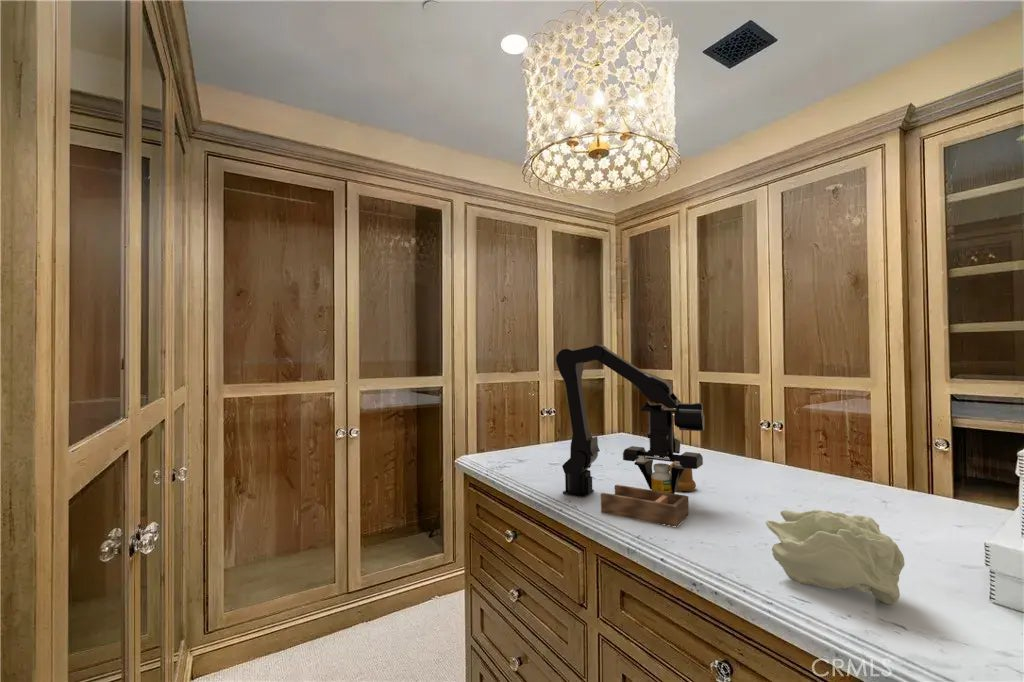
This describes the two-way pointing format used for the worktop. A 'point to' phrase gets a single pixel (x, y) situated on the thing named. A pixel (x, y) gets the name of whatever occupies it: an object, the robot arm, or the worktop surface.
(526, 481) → the worktop surface
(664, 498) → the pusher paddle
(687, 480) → the ornamental finial
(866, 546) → the wavy plaster lump
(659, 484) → the supplement bottle
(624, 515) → the pusher lane
